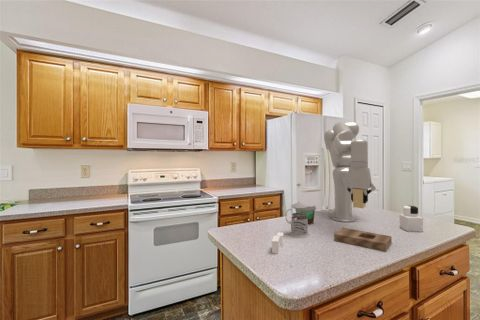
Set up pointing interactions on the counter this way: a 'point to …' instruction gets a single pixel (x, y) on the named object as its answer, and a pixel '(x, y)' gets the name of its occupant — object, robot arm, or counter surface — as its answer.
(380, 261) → the counter surface
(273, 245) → the napkin holder
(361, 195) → the brass peg
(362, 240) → the walnut square hole board
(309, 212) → the food container
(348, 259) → the counter surface
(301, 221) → the french press
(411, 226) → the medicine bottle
